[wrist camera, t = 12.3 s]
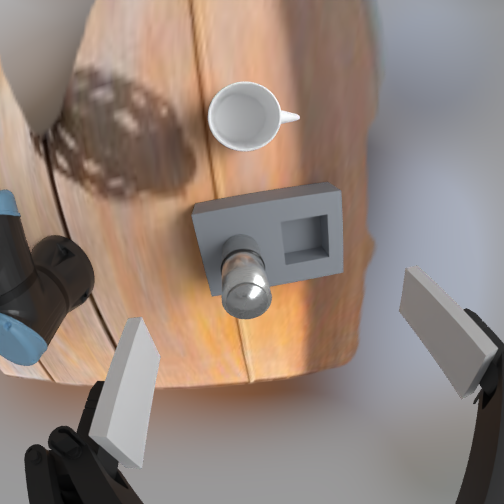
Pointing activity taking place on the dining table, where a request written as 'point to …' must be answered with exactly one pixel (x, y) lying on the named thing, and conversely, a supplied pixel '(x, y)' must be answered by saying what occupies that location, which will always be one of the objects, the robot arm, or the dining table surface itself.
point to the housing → (276, 231)
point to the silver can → (244, 278)
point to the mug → (246, 116)
